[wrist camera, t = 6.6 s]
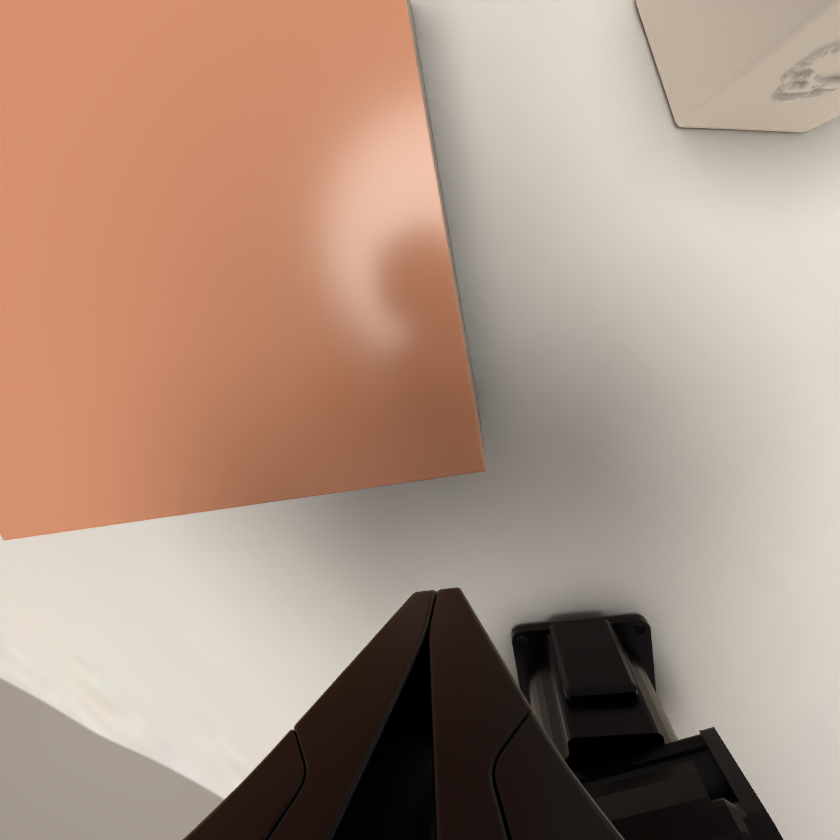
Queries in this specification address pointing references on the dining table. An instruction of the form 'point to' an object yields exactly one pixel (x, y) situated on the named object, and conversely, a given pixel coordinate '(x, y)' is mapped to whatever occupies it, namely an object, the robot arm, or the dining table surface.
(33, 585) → the dining table surface
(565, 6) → the dining table surface
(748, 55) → the jar
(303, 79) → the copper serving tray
